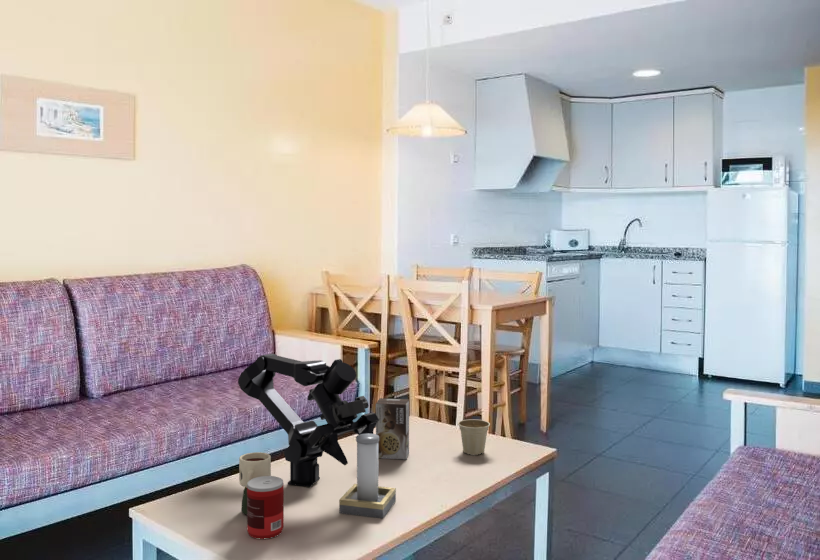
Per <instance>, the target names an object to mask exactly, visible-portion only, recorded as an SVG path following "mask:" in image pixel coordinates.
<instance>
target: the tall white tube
mask: <svg viewBox="0 0 820 560" xmlns="http://www.w3.org/2000/svg"><path fill="white" fill-rule="evenodd" d="M355 441H356V484H357V500H363V501H372V502H375V501H377V500H378V486H379V458H378V442H379V436H378V435H376V433H373V434H360V435H358V434H357V436H355Z"/></svg>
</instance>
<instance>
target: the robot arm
mask: <svg viewBox="0 0 820 560" xmlns="http://www.w3.org/2000/svg"><path fill="white" fill-rule="evenodd" d="M276 374H279V375H284V376H288V377H290V378H293V379H294V382H295V383H297V384H299V385H301V386H303V387H309V386H314V385H316V386H315V387H314V388H311V389H309V390H308V391H309V393H308V395H307V401H315V403H316V405H317V406H318V408H319V411H320V412H321V414H320V416H319V418H320V420H321V421H323V420H325V421H326V423H324V424H322V425H321V424H320V425H318V424H317V423H316V421H314V420H313V419H311V420H308V421H303V420H302V419H301V418H300V416H299V415H298V414H297V412H295V410H293V408H292V407H291V406H290V404H288V403H287V402H286V400H285V399H284V398H283V397H282V396H281V395H280V394H279V392H278V391H277V390H276V389H275V387H274V386H275V385H274V378H275V377H276ZM356 378H357V372H356V370H355V368H354V367H353V366H351V365H350V364H348V363H346V362H343V360H342V358H338V359H334V360H333V362H332V363H331V365H327V362H325V361H324V360H320V359H319V360H306V361H305V360H304V361H302V360H297V359H294V358H289V357H284V356H281V355H277V354H274V353H269V354H262V355H260V356H258V357H257V359H256V360H255V361H254V362H252V363H251V364H250V365H249V366H247V367H245V368H244V370H243V371H242V372H241V373H240V374H239V377H238V379H237V384H238V387H239V388H240V390H241V391H242V392H243V393H244V394H246V395H247V396H248V397H250V398H253V399H255V400H258V401H259V402H260V403H261V404H262V405H263V407H265V409H266V410H267V411H268V412H269V413H270V415H271V416H272V417H273V418H274V419H275V420H276V422H277V423H278V424H279V425H280V427H282V429H283V430H284V432H286V434H287V440H288V446H287V448H286V449H285V450H284V452H283V455H284V459H285V461H287V462H289V463H290V464H289V465H290V466H289V467H290V469H289V470H290V473H289V474H290V475H289V477H290V478H289V481H288V482H287V485H289V486H290V485H291V486H297V487H298V486H299V487H309V488H310V487H313V486H314V485H315V484H316V483H317V482H319V480H321V479H320V464H319V463H318V458H321V457H322V458H323V454H324V453H325V454H327V455H329V456H331V458H334V460H336V461H337V462H339V463H340V464H342V465H343V466H347V465H348V463H349V461H348V459H347V457H346V455H345V453H344V451H343V449H342V447H341V445H340V443H339V440H338V438H339V435H342V434H343V435H344V434H346V433H350V432H354V433H355V434H357V436H358V435H360V434H374V429H375V428H376V425H377V422H378V421H379V419H378V417H377V415H376V412H375V413H374V412H368V413H366V412H367V411H366V409H368V408H369V406H370V405H369V401H368V399H367V398H366V397H365V395H360V396H358V397H355V398H354V400H353V401H349V402H348V401H347V400H346V399H345V400H342V397H340V395H342V394H344V393H345V392H346V390H347V389H348V388H349V386H350V385H351V384H352V383H353V382H354V381H355V380H356ZM361 413H364V414H362V415H360V416H359V417H358V415H359V414H361ZM357 418H358V419H357ZM356 419H357V420H356ZM354 420H356V421H354Z"/></svg>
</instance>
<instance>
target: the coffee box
mask: <svg viewBox="0 0 820 560" xmlns="http://www.w3.org/2000/svg"><path fill="white" fill-rule="evenodd" d="M375 414H376V415H377V417H378V419H379V421H378V422H377V425H376V426H375V434H376V435H378V436H379V442H378V459H388V460H389V459H392V460H407V459H408V457H409V455H410V398H409V399H407V398H385V397H384V398H383V397H382V398H381V397H380V398H379V399H378V400H377V401H376V403H375Z"/></svg>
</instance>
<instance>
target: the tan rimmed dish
mask: <svg viewBox="0 0 820 560" xmlns="http://www.w3.org/2000/svg"><path fill="white" fill-rule="evenodd" d="M396 491H397V488H396V487H390V486H389V487H388V486H387V487H385V486H379V485H378V500H377V501H375V502H372V501H363V500H357V483H354V484H352V485H351V487H350V488H349V489H348V490H347V491H346V492H345V493H344V494H343V495H342V496H341V497H340V498H339V502H338V503H339V506H338V507H339V511H338V512H339V514H343V515H344V514H345V515H353V516H359V517H360V516H361V517H367V518H377V519H384V518H385V517H386V515H387V513H388V512H389V511H390V509H391V508H392V507H393V506H394V504H395V503H396V501H397V500H396V499H397V497H396V496H397V492H396Z"/></svg>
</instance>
